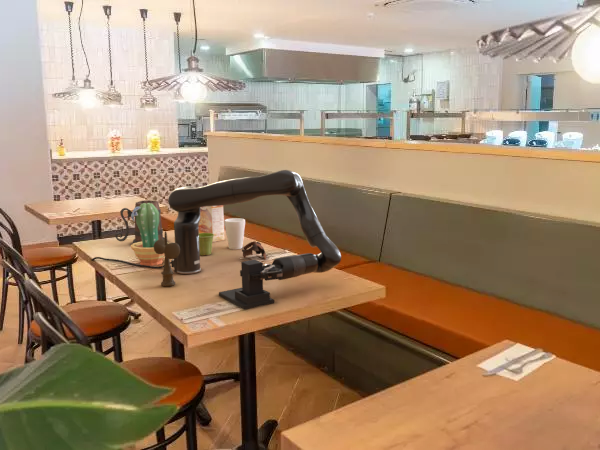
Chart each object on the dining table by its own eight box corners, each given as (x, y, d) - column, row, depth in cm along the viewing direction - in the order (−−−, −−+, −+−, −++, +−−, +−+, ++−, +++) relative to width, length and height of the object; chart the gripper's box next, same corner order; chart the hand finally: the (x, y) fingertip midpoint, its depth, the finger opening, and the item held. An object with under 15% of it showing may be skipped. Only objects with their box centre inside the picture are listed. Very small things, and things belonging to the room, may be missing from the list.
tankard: (162, 237, 285) (160, 198, 281) (171, 244, 271) (169, 202, 267) (113, 243, 274) (110, 201, 270) (119, 250, 259) (116, 206, 256)
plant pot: (188, 255, 251) (187, 236, 249) (201, 250, 259) (200, 232, 258) (206, 257, 247) (206, 237, 245) (219, 252, 256) (218, 233, 254)
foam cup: (226, 245, 270) (225, 218, 267) (246, 245, 270) (245, 218, 268) (224, 250, 260) (223, 222, 258) (244, 249, 261) (244, 221, 259)
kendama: (166, 290, 201) (164, 234, 198) (154, 284, 208) (151, 230, 204) (182, 286, 205) (179, 232, 202) (169, 281, 212) (166, 228, 209)
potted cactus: (144, 257, 247) (140, 199, 242) (177, 259, 244) (174, 201, 239) (124, 266, 232) (120, 205, 227) (159, 268, 229) (155, 207, 224)
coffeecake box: (196, 237, 287) (194, 198, 284) (209, 235, 292) (207, 197, 288) (212, 242, 277) (210, 202, 273) (225, 240, 281) (223, 200, 278)
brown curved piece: (266, 262, 242) (256, 246, 239) (247, 270, 244) (237, 255, 241) (271, 248, 252) (261, 233, 250) (252, 256, 255) (243, 242, 252)
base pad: (218, 295, 196) (218, 285, 195) (247, 289, 202) (247, 279, 202) (244, 309, 182) (243, 298, 181) (274, 302, 188) (273, 292, 188)
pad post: (242, 294, 189) (241, 261, 186) (255, 291, 192) (254, 259, 189) (249, 298, 185) (248, 265, 182) (263, 295, 188) (262, 262, 185)
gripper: (277, 252, 200) (233, 259, 190) (300, 260, 189) (255, 269, 179) (278, 273, 202) (234, 281, 191) (301, 282, 190) (256, 292, 180)
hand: (245, 275), depth 185 cm, fingers closed on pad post, 5 cm apart
